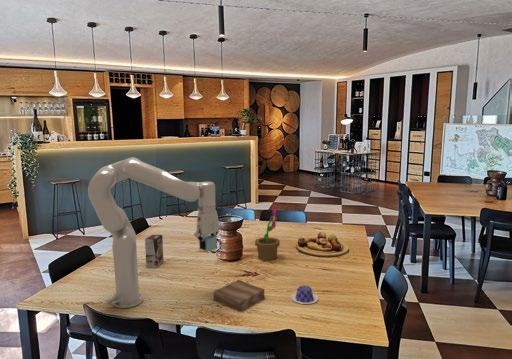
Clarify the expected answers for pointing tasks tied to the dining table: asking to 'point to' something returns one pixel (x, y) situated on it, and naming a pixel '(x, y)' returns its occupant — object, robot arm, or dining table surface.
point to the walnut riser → (238, 295)
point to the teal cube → (209, 243)
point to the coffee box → (154, 251)
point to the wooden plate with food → (322, 246)
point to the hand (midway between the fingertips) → (207, 246)
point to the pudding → (304, 295)
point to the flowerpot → (268, 242)
